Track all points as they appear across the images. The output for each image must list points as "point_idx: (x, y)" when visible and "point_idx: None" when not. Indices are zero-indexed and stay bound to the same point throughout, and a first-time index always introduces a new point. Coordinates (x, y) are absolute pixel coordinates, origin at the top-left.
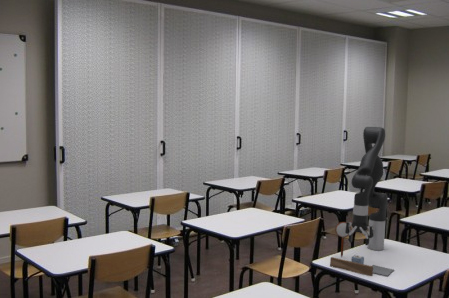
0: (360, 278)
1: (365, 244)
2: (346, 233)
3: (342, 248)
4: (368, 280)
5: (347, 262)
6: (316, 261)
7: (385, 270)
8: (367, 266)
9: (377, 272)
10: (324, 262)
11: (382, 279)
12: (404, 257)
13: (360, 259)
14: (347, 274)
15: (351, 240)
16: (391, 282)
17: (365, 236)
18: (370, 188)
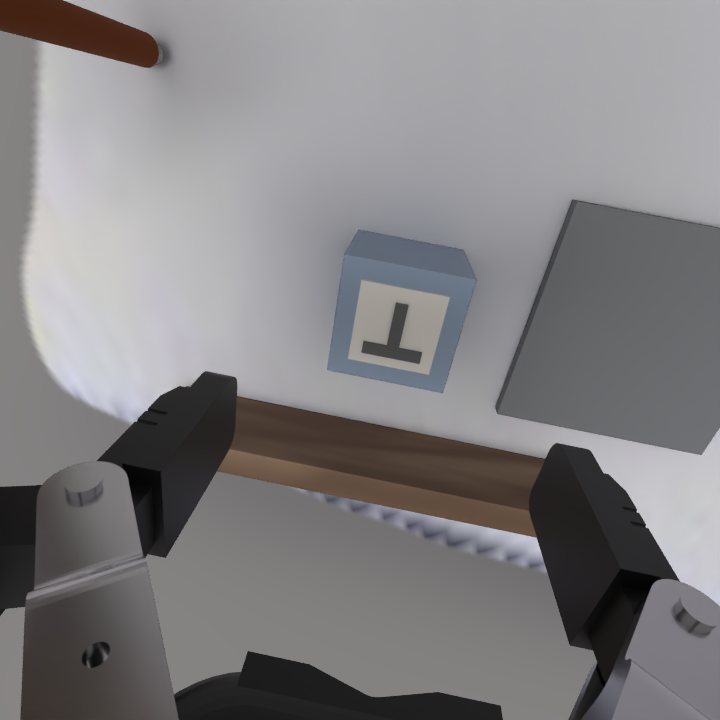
0: (465, 547)
1: (534, 520)
2: None
3: (86, 48)
4: (525, 560)
5: (325, 487)
6: (41, 348)
7: (709, 329)
8: (527, 534)
9: (610, 417)
10: (105, 341)
11: (638, 512)
12: None
13: (439, 389)
14: (363, 514)
15: (222, 432)
16: (707, 540)
17: (579, 714)
18: None
